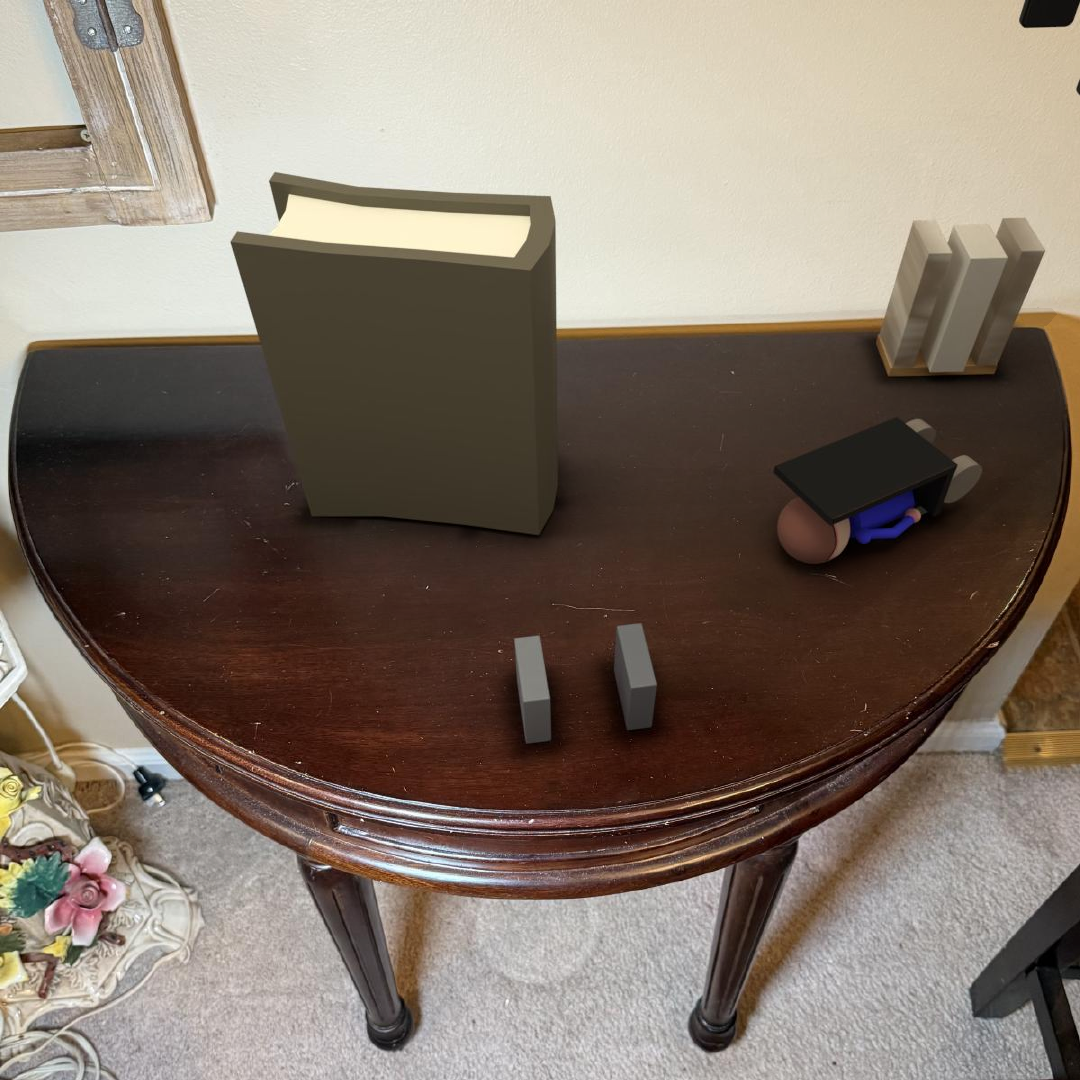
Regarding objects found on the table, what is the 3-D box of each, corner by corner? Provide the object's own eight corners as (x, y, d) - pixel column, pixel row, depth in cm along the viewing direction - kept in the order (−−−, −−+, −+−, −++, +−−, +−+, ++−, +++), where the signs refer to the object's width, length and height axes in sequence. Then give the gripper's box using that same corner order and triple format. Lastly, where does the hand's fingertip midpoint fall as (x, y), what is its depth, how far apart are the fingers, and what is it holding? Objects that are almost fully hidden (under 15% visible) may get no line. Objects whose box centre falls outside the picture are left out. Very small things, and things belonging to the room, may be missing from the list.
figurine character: (895, 473, 77) (748, 532, 71) (930, 397, 72) (774, 454, 66) (958, 527, 73) (808, 595, 67) (1000, 451, 68) (841, 517, 62)
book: (562, 465, 77) (561, 189, 59) (548, 540, 72) (542, 263, 54) (340, 444, 79) (274, 171, 61) (311, 516, 74) (230, 241, 56)
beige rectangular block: (947, 337, 84) (989, 223, 76) (963, 372, 81) (1008, 257, 73) (915, 338, 84) (953, 224, 76) (929, 372, 81) (971, 258, 73)
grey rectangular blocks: (637, 666, 64) (641, 622, 61) (651, 727, 61) (657, 684, 58) (517, 681, 64) (513, 638, 60) (525, 744, 61) (523, 702, 57)
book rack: (977, 340, 86) (1026, 217, 77) (994, 374, 83) (1047, 250, 74) (875, 342, 86) (911, 220, 77) (887, 376, 83) (927, 253, 74)
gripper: (1406, -292, 39) (1202, 124, 52) (1209, -352, 51) (1082, 1, 64) (1218, -286, 40) (1060, 128, 52) (1064, -347, 51) (966, 4, 64)
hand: (1072, 58), depth 58 cm, fingers open, 9 cm apart
